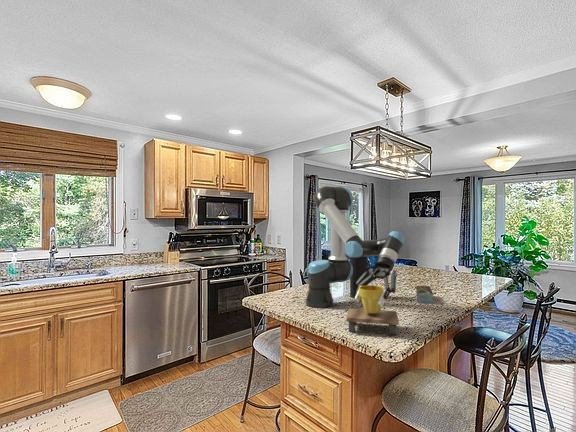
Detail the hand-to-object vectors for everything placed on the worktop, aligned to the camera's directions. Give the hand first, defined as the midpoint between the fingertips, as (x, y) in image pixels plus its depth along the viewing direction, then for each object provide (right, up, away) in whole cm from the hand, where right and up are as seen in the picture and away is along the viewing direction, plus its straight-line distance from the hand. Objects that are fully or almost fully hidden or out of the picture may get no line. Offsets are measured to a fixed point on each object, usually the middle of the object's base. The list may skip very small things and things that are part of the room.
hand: (367, 302), depth 128 cm
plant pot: (+2, -4, +2) cm, 5 cm away
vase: (+10, -13, +58) cm, 60 cm away
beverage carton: (+45, -12, +49) cm, 68 cm away
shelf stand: (+2, -11, +2) cm, 12 cm away
